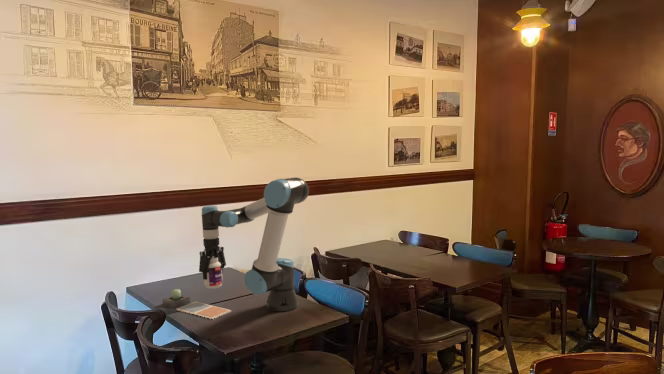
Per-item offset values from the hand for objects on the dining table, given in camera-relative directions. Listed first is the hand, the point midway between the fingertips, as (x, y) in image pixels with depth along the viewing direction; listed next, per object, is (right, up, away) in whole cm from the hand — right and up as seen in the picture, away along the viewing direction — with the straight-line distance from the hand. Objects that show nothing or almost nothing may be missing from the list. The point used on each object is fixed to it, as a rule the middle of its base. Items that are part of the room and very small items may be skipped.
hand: (213, 283), depth 234 cm
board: (-2, -11, -11) cm, 15 cm away
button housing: (-18, -10, 0) cm, 21 cm away
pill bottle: (0, -2, 0) cm, 2 cm away
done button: (-18, -7, -1) cm, 20 cm away
